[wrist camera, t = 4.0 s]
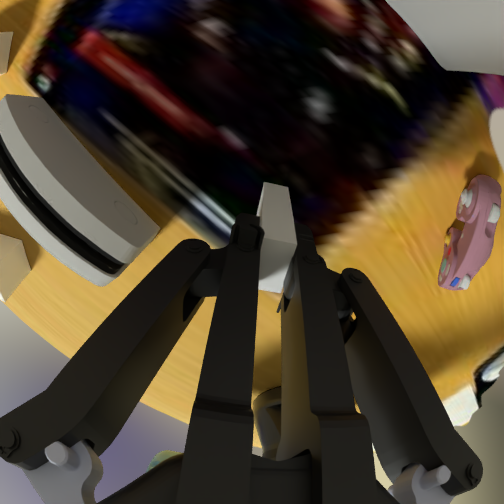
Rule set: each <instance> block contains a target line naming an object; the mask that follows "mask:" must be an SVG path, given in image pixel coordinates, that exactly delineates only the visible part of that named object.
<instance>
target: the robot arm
mask: <svg viewBox="0 0 504 504" xmlns="http://www.w3.org/2000/svg"><path fill="white" fill-rule="evenodd" d="M283 286H284V292H283V295H282V298H281V300H280V303H279V306H278V309H277V313H279V311H280V309H281V353H282V387H278V388H275V389H272V390H269V391H267V392H264V393H262V394H261V395H259V396H258V397H257V398H256V399H255V400H254V403H253V411H252V409H251V397H252V382H253V367H254V352H255V336H256V320H257V304H258V289H259V290H265V291H271V292H277V293H281V290H282V287H283ZM212 296H217V299H216V303H215V308H214V312H213V317H212V321H211V326H210V331H209V335H208V340H207V345H206V350H205V354H204V359H203V364H202V369H201V374H200V379H199V384H198V389H197V394H196V398H195V401H194V404H193V408H192V413H191V418H190V423H189V429H188V434H187V439H186V445H185V451H184V453H180V452H175V451H169V450H165V451H161V452H159V453H158V454H156V455H155V457H154V458H153V459H152V461H151V463H150V464H149V466H148V468H147V471H146V473H145V474H143V475H142V476H140V477H139V478H137V479H136V480H134V481H133V482H131V483H130V484H128V485H127V486H125V487H124V488H122V489H120V490H119V491H117V492H115V493H114V494H112V495H110V496H109V497H107V498H105V499H104V500H102V501H100V502H98V503H97V504H450V502H451V501H452V499H453V498H454V497H455V496H456V495H459V494H462V493H464V492H467V491H469V490H471V489H474V488H475V487H477V485H478V484H479V482H480V481H481V478H482V474H483V467H482V463H481V461H480V459H479V458H478V457H477V455H476V454H475V453H474V452H473V450H472V449H471V448H470V447H469V446H468V444H467V443H466V442H465V441H464V440H463V439H462V437H461V436H460V435H459V434H458V433H457V432H456V430H455V429H454V427H453V425H452V423H451V421H450V418H449V416H448V414H447V412H446V410H445V408H444V406H443V404H442V402H441V400H440V398H439V396H438V394H437V392H436V390H435V388H434V386H433V384H432V382H431V380H430V379H429V377H428V375H427V373H426V371H425V369H424V368H423V366H422V364H421V362H420V360H419V359H418V357H417V355H416V353H415V352H414V350H413V348H412V346H411V345H410V343H409V341H408V340H407V338H406V336H405V335H404V333H403V331H402V330H401V328H400V326H399V325H398V323H397V322H396V320H395V318H394V317H393V315H392V314H391V312H390V310H389V309H388V307H387V306H386V304H385V303H384V301H383V300H382V298H381V297H380V295H379V294H378V292H377V291H376V289H375V288H374V286H373V285H372V283H371V282H370V280H369V279H368V277H367V276H366V275H365V274H364V273H362V272H361V271H360V270H357V269H354V268H345V269H344V270H343V271H342V273H341V274H339V273H337V272H334V271H332V270H330V269H328V268H327V266H326V262H325V261H324V259H323V258H322V257H321V256H320V255H318V254H317V251H316V247H315V243H314V239H313V235H312V231H311V230H310V229H309V228H308V226H307V225H302V224H298V223H294V220H293V214H292V208H291V202H290V196H289V190H288V187H285V186H280V185H275V184H271V183H266V182H264V185H263V190H262V194H261V198H260V203H259V207H258V212H257V216H256V215H251V214H245V213H240V214H239V215H238V216H236V220H235V224H234V225H233V226H232V230H231V236H230V241H229V245H227V246H226V247H224V248H220V249H210V246H209V245H208V244H207V243H206V242H204V241H202V240H199V239H186V240H183V241H181V242H180V243H179V244H178V245H177V246H176V247H175V248H174V249H173V250H172V251H171V252H170V253H168V254H167V255H166V256H165V257H164V258H163V259H162V260H161V261H160V262H159V263H158V264H157V265H156V266H155V267H154V269H153V270H152V271H151V272H150V273H149V274H148V275H147V276H146V277H145V278H144V279H143V280H142V281H141V282H140V283H139V284H138V285H137V286H136V287H135V288H134V289H133V290H132V291H131V292H130V293H129V294H128V295H127V297H126V298H125V299H124V300H123V301H122V302H121V303H120V304H119V305H118V306H117V307H116V308H115V309H114V311H113V312H112V313H111V314H110V315H109V316H108V317H107V318H106V319H105V320H104V322H103V323H102V324H101V325H100V326H99V327H98V328H97V329H96V330H95V332H94V333H93V334H92V335H91V336H90V337H89V338H88V340H87V341H86V342H85V343H84V344H83V345H82V347H81V348H80V349H79V350H78V351H77V352H76V354H75V355H74V356H73V357H72V358H71V360H70V361H69V362H68V363H67V364H66V366H65V367H64V368H63V369H62V371H61V372H60V373H59V374H58V376H57V377H56V378H55V379H54V381H53V382H52V383H51V384H50V386H49V387H48V388H47V389H46V390H45V391H43V392H42V393H40V394H39V395H37V396H35V397H34V398H32V399H30V400H29V401H27V402H26V403H24V404H22V405H21V406H19V407H17V408H16V409H14V410H12V411H11V412H9V413H8V414H6V415H4V416H3V417H1V418H0V457H2V458H3V459H4V460H5V461H7V462H9V463H11V464H13V465H15V466H17V467H19V468H21V469H22V470H23V471H24V473H25V474H26V476H27V477H28V479H29V480H30V482H31V484H32V485H33V487H34V488H35V490H36V491H37V493H38V494H39V496H40V497H41V499H42V500H43V501H44V503H45V504H96V502H95V499H94V490H95V487H96V485H97V484H98V482H99V481H100V480H101V478H102V475H103V466H102V463H101V461H100V459H99V458H98V457H99V456H100V455H101V454H102V453H103V452H104V451H105V450H106V449H107V448H108V447H109V446H110V445H111V443H112V442H113V441H114V439H115V438H116V436H117V435H118V434H119V432H120V430H121V429H122V427H123V426H124V424H125V422H126V421H127V419H128V418H129V416H130V415H131V413H132V411H133V410H134V408H135V407H136V405H137V403H138V402H139V400H140V399H141V397H142V396H143V394H144V392H145V391H146V389H147V388H148V386H149V385H150V383H151V381H152V380H153V378H154V377H155V375H156V374H157V372H158V371H159V369H160V367H161V366H162V364H163V363H164V361H165V360H166V358H167V357H168V355H169V353H170V352H171V350H172V349H173V347H174V346H175V344H176V343H177V341H178V340H179V338H180V336H181V335H182V333H183V332H184V330H185V329H186V327H187V326H188V324H189V323H190V321H191V320H192V318H193V317H194V315H195V314H196V312H197V310H198V309H199V307H200V306H201V304H202V303H203V301H204V299H205V297H212ZM353 312H354V314H355V316H356V319H355V320H353V319H352V317H351V315H352V313H353ZM353 394H354V397H355V399H356V402H357V404H358V407H359V409H360V412H361V414H360V413H358V412H357V411H356V408H355V403H354V397H353ZM254 423H255V426H256V429H257V432H258V435H259V439H260V442H261V445H262V449H263V456H262V457H260V456H257V455H254V454H252V444H253V429H254ZM372 443H373V446H374V448H375V451H376V454H377V456H378V459H379V461H380V463H381V466H382V468H383V470H384V471H385V473H386V475H387V476H388V478H389V479H390V480H391V482H392V483H393V485H392V486H390V487H389V488H388V490H386V489H385V488H384V487H383V486H382V485H381V484H380V483H379V481H378V480H376V475H375V466H374V457H373V447H372Z"/></svg>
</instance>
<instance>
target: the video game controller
mask: <svg viewBox="0 0 504 504" xmlns="http://www.w3.org/2000/svg"><path fill="white" fill-rule="evenodd" d="M500 194H501V186H500V184H499V183H498V182H497V181H496V180H495V179H493V178H491V177H490V176H487V175H477V176H476V177H474V178H473V179H472V180H471V182H470V184H469V186H468V188H467V189H464V190H463V192H462V193H461V196H460V198H459V202H458V205H457V210H456V217H457V219H458V220H460V221H463V222H464V223H465V225H464V228H463V231H461V230H458V229H456V228H453V227H451V228H450V230H449V232H448V234H447V235H446V236H445V238H444V243H445V245H444V255H443V259H442V262H441V266H440V270H439V275H438V285H439V286H440V287H443V288H446V289H449V290H463V289H467V288H468V287H469V284H470V281H471V280H472V278H473V277H474V276H475V275H476V274H477V272H478V271H479V270H480V268H481V267H482V266H483V265H484V264H485V263H486V261H487V260H488V258H489V257H490V254H491V251H492V248H493V242H494V234H495V229H496V225H497V222H498V219H499V217H500V208H501V197H500Z"/></svg>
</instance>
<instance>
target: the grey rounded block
mask: <svg viewBox="0 0 504 504" xmlns="http://www.w3.org/2000/svg"><path fill="white" fill-rule="evenodd" d="M0 198H1V200H2V201H3V203H4V204H5V206H6V207H7V209H8V210H9V211H10V212H11V214H12V215H13V216H14V217H15V219H16V220H17V221H18V222H19V223H20V225H21V226H22V227H23V228H24V229H25V230H26V231H27V232H28V233H29V234H30V236H31V237H33V238H34V239H35V240H36V241H37V242H38V243H39V244H40V245H41V246H42V247H43V248H44V249H45V250H47V251H48V252H49V253H50V254H51V255H53V256H54V257H55V258H56V259H57V260H59V261H60V262H61V263H63V264H64V265H65V266H67V267H68V268H70V269H71V270H73V271H74V272H76V273H77V274H78V275H80V276H82V277H83V278H85V279H87V280H88V281H90V282H92V283H93V284H95V285H98V286H106V285H107V284H109V283H110V282H112V281H113V280H114V279H116V278H117V277H119V275H120V274H121V273H122V272H123V271H124V270H125V269H126V268H127V267H128V266H129V264H130V263H132V262H133V261H134V259H135V258H136V257H137V256H138V255H139V254H140V253H141V252H142V251H143V250H144V249H145V248H146V247H147V246H148V244H149V243H150V242H151V241H152V240H153V239H154V238H155V236H156V235H157V233H158V231H159V230H160V227H159V226H158V225H157V224H156V223H155V222H154V221H153V220H152V219H151V218H150V217H149V216H148V215H147V214H146V213H145V212H144V211H143V210H142V209H141V208H140V207H139V206H138V205H137V204H136V203H135V202H134V201H133V199H132V198H131V197H130V196H129V195H128V194H127V193H126V192H125V191H124V190H123V189H122V188H121V187H120V186H119V185H118V184H117V183H116V182H115V180H114V179H113V178H112V177H111V176H110V175H109V174H108V173H107V172H106V171H105V170H104V169H103V167H102V166H101V165H100V164H99V163H98V162H97V161H96V160H95V159H94V157H93V156H92V155H91V154H90V153H89V152H88V151H87V150H86V149H85V147H84V146H83V145H82V144H81V143H80V142H79V141H78V139H77V138H76V137H75V136H74V135H73V134H72V133H71V131H70V130H69V129H68V128H67V127H66V125H65V124H64V123H63V122H62V121H61V120H60V118H59V117H58V116H57V115H56V114H55V112H54V111H53V110H52V109H51V108H50V106H49V105H48V104H47V103H46V101H45V100H44V99H43V98H39V97H31V96H21V95H10V94H7V95H6V96H5V97H4V98H3V99H2V100H1V101H0Z"/></svg>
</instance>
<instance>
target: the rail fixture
mask: <svg viewBox="0 0 504 504" xmlns="http://www.w3.org/2000/svg"><path fill="white" fill-rule="evenodd" d="M12 36H13V32H0V75H2V74H5V73H7V67H8V59H9V52H10V47H11V41H12ZM30 271H31V268H30V265H29V262H28V259H27V256H26V253H25V250H24V246H23V243H22V240H19V239H16V238H13V237H10V236H6V235H3V234H0V300H2V301H4V302H6V301H7V299H8V298H9V297H10V295H11V294H12V293H13V292H14V290H15V289H16V288H17V287H18V285H19V284H20V283H21V282H22V281H23V279H24V278H25V277H26V276H27V275H28V274H29V273H30Z"/></svg>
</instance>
